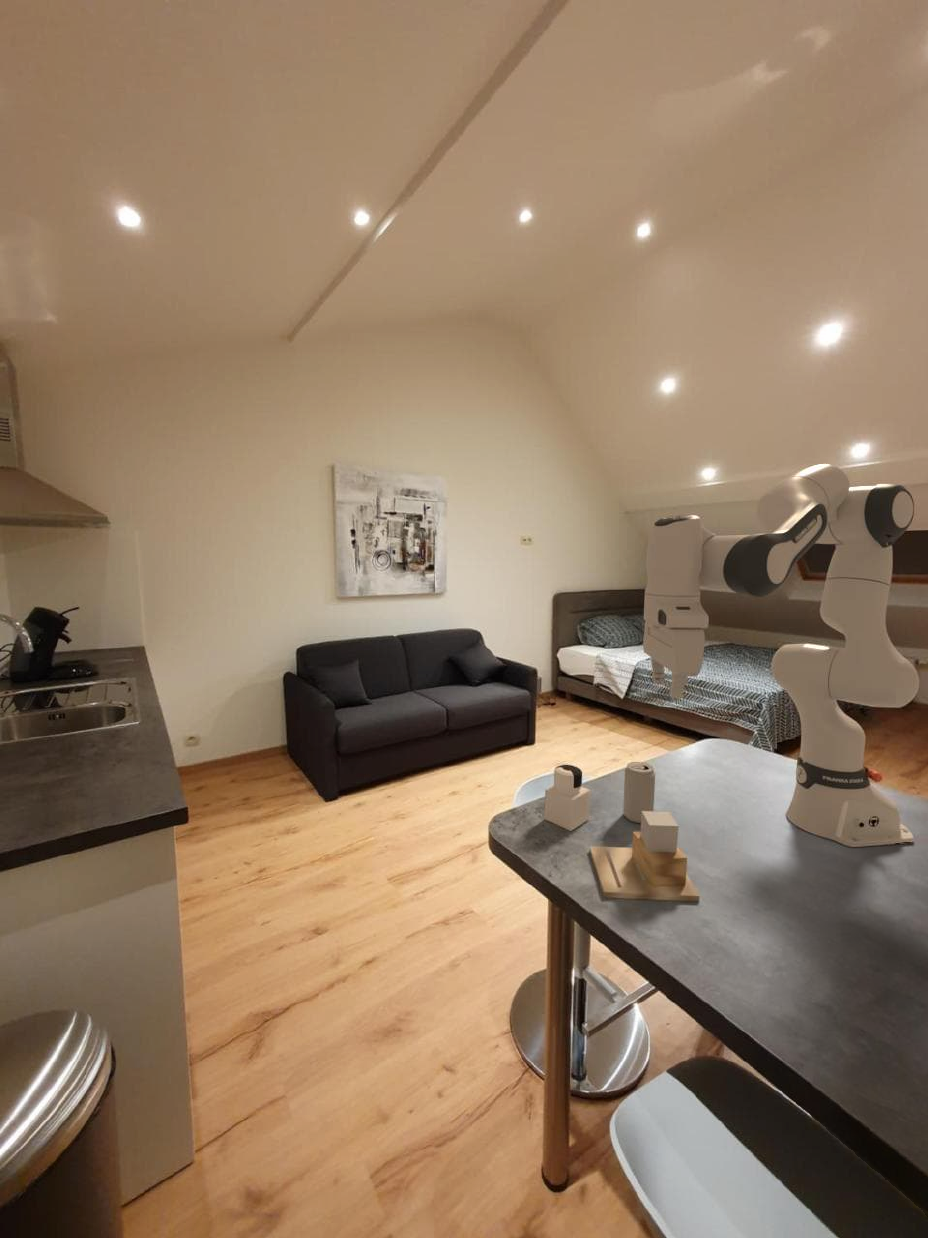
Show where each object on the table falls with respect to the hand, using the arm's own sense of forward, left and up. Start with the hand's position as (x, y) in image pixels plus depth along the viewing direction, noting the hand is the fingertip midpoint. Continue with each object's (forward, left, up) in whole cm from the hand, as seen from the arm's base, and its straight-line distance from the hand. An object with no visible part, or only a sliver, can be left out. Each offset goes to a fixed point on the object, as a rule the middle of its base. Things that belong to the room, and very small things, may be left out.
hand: (666, 689), depth 92 cm
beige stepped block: (+14, -19, -35) cm, 43 cm away
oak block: (0, 0, -34) cm, 34 cm away
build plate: (+3, 0, -35) cm, 35 cm away
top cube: (0, 0, -29) cm, 29 cm away
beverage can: (-2, -21, -35) cm, 41 cm away
